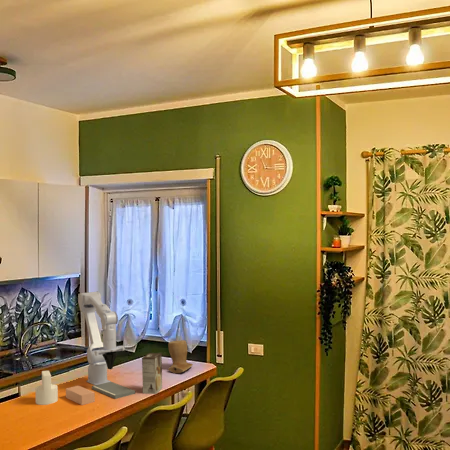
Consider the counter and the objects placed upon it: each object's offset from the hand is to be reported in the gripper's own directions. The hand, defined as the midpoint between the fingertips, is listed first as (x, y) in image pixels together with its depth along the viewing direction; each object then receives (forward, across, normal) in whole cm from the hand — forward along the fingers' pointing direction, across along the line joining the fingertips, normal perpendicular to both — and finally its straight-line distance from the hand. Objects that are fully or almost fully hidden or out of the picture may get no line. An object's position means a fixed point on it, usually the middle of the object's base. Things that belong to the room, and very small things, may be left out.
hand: (110, 368), depth 249 cm
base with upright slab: (+10, -28, +5) cm, 30 cm away
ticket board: (+9, -1, -4) cm, 10 cm away
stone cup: (+10, +42, +3) cm, 43 cm away
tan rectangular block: (+9, -17, -4) cm, 20 cm away
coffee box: (+10, +12, -16) cm, 22 cm away
